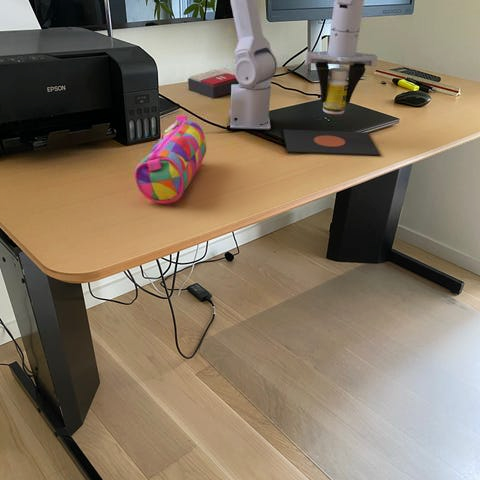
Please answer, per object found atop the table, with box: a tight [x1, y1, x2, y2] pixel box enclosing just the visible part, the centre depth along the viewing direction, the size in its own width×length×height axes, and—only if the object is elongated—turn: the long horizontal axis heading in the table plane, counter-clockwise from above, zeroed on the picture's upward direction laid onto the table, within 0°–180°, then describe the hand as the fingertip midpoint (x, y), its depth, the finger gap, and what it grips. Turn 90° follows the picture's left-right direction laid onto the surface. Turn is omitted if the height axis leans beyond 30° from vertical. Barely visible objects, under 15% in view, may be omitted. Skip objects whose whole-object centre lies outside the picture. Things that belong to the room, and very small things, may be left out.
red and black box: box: [187, 67, 239, 99], centre depth 145 cm, size 11×4×15 cm
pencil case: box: [133, 114, 207, 205], centre depth 92 cm, size 22×9×9 cm, turn 174°
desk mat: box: [282, 129, 381, 157], centre depth 115 cm, size 20×14×1 cm
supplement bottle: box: [322, 67, 349, 115], centre depth 109 cm, size 5×5×8 cm
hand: (334, 101), depth 110 cm, fingers closed on supplement bottle, 5 cm apart
